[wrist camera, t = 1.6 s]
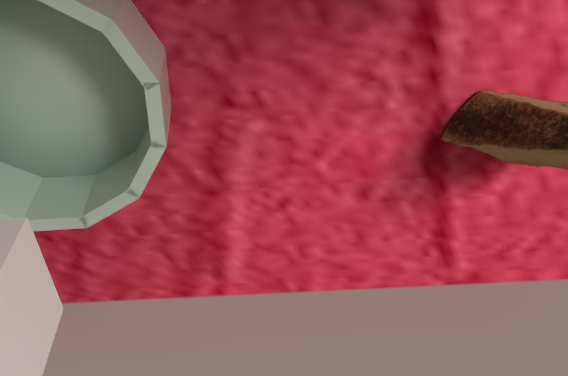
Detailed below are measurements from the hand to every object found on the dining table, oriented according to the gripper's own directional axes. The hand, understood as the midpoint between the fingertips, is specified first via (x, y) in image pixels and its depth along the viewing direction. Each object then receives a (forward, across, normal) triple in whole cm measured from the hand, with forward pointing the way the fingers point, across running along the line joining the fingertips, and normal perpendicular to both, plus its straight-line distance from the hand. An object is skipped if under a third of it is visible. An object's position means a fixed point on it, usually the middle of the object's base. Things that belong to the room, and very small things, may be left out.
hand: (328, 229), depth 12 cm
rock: (+24, +19, -10) cm, 32 cm away
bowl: (+23, -13, -4) cm, 27 cm away
